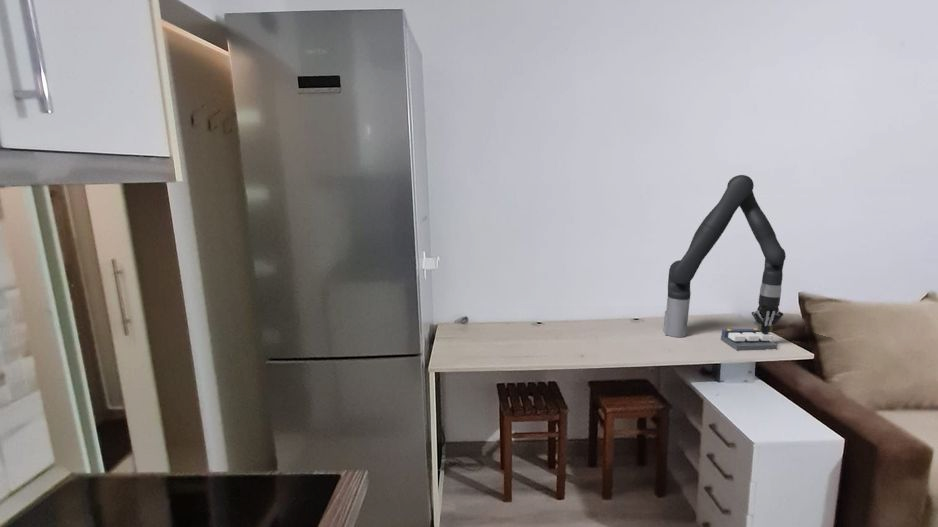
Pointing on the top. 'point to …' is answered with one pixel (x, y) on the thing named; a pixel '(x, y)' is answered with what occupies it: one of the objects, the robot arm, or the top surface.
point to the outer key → (764, 336)
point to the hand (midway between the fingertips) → (764, 333)
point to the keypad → (746, 344)
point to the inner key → (736, 336)
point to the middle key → (751, 336)
